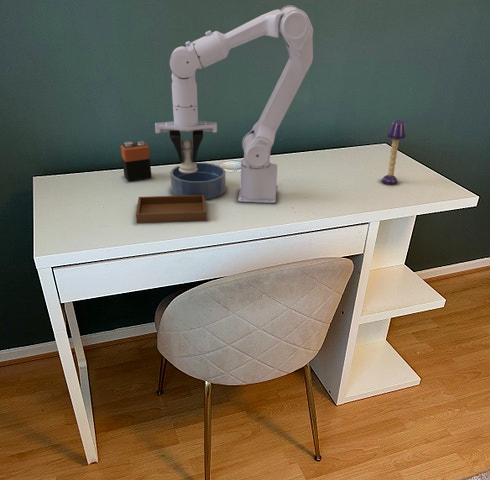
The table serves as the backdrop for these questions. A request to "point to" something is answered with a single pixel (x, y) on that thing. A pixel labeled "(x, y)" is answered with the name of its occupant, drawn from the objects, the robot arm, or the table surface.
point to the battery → (136, 161)
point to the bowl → (199, 181)
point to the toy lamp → (394, 149)
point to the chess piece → (187, 158)
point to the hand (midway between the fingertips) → (187, 161)
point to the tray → (171, 209)
